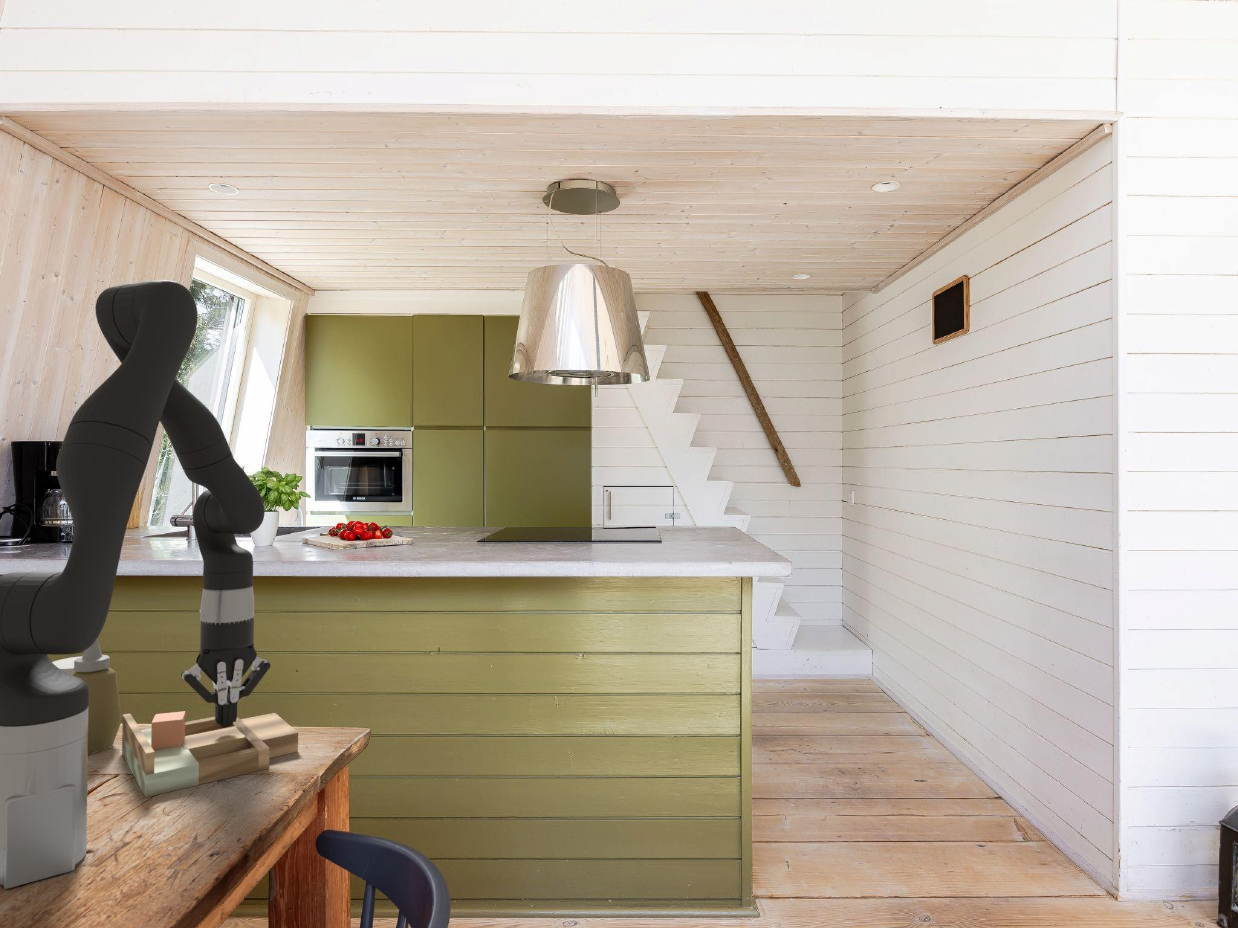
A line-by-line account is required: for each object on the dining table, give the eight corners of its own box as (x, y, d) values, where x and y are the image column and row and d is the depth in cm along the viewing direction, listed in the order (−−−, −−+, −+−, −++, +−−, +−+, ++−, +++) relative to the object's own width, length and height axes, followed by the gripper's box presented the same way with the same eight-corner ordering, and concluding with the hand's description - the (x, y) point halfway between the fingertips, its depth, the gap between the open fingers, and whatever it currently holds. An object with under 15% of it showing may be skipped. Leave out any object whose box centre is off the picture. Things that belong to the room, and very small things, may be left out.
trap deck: (306, 759, 118) (307, 720, 118) (145, 797, 104) (146, 753, 104) (267, 723, 134) (267, 689, 134) (122, 752, 120) (122, 714, 120)
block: (182, 745, 115) (182, 719, 115) (151, 749, 113) (151, 722, 113) (185, 736, 119) (185, 710, 119) (155, 739, 117) (155, 714, 117)
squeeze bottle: (105, 735, 127) (107, 627, 126) (131, 745, 122) (133, 633, 122) (49, 751, 120) (51, 636, 120) (74, 762, 116) (76, 643, 115)
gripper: (185, 625, 113) (183, 742, 113) (279, 614, 122) (277, 723, 122) (174, 616, 119) (173, 728, 119) (265, 607, 127) (263, 711, 127)
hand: (226, 725), depth 120 cm, fingers closed
